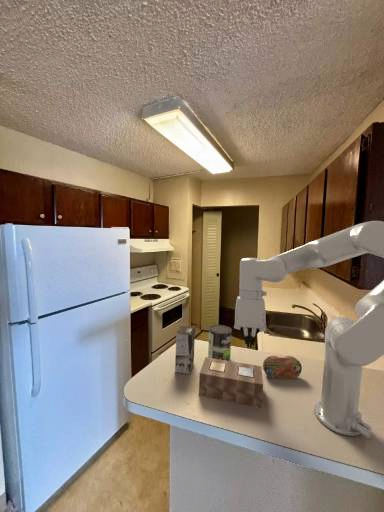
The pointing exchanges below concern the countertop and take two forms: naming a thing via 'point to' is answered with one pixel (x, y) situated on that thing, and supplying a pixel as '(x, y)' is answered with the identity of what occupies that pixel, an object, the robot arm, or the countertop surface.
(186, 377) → the countertop surface
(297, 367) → the tin
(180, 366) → the coffee box
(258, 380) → the sleeve block
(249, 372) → the metal peg
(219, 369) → the beech peg
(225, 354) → the coffee can
